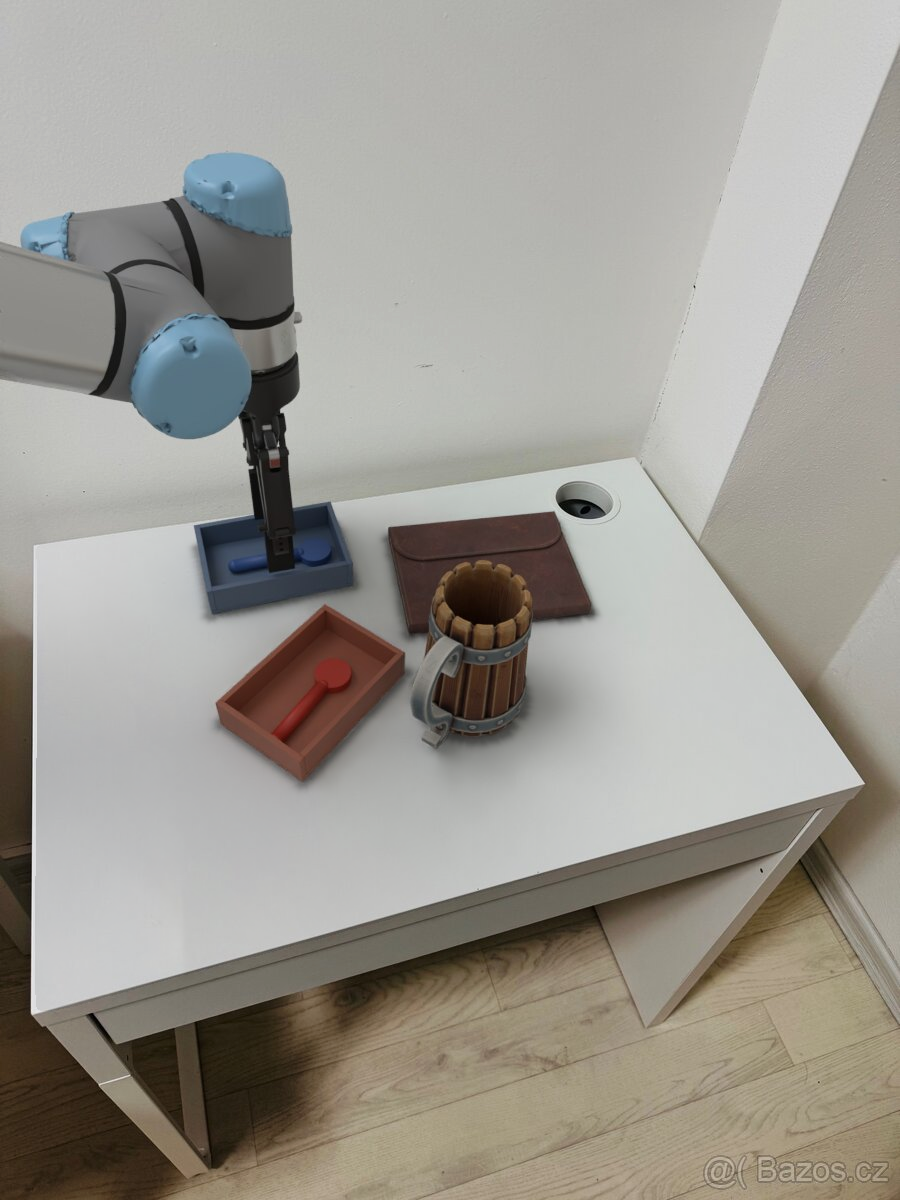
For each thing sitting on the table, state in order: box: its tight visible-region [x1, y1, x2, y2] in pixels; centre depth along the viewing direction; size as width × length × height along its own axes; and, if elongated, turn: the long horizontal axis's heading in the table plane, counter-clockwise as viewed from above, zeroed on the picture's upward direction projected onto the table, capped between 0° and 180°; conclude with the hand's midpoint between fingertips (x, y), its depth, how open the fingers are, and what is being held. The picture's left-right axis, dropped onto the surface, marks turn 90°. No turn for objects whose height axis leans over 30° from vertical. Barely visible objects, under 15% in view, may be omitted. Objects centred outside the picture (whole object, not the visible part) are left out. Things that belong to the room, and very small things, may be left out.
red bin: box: [214, 603, 406, 783], centre depth 80 cm, size 15×10×4 cm
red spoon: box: [271, 658, 352, 742], centre depth 79 cm, size 11×4×1 cm, turn 149°
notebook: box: [387, 510, 592, 635], centre depth 93 cm, size 15×20×2 cm
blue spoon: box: [228, 538, 331, 573], centre depth 92 cm, size 11×4×1 cm, turn 109°
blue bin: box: [193, 501, 354, 615], centre depth 91 cm, size 15×10×4 cm
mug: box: [410, 560, 533, 749], centre depth 75 cm, size 16×11×15 cm
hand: (273, 541), depth 90 cm, fingers open, 8 cm apart
